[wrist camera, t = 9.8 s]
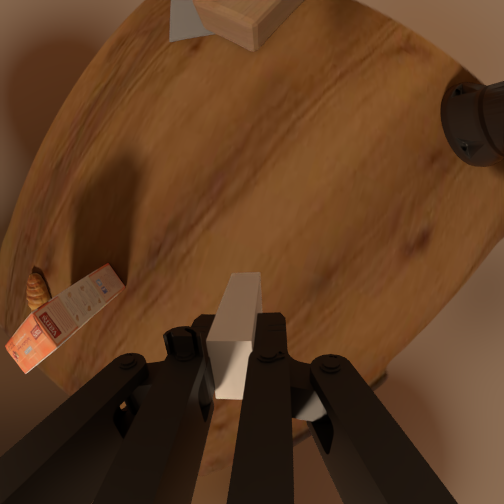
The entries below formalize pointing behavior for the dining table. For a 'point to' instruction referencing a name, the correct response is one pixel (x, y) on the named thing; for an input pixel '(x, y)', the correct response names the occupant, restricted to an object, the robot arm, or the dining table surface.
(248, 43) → the wooden block
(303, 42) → the dining table surface
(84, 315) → the cracker box
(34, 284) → the pastry
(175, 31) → the felt pad
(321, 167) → the dining table surface
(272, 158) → the dining table surface
